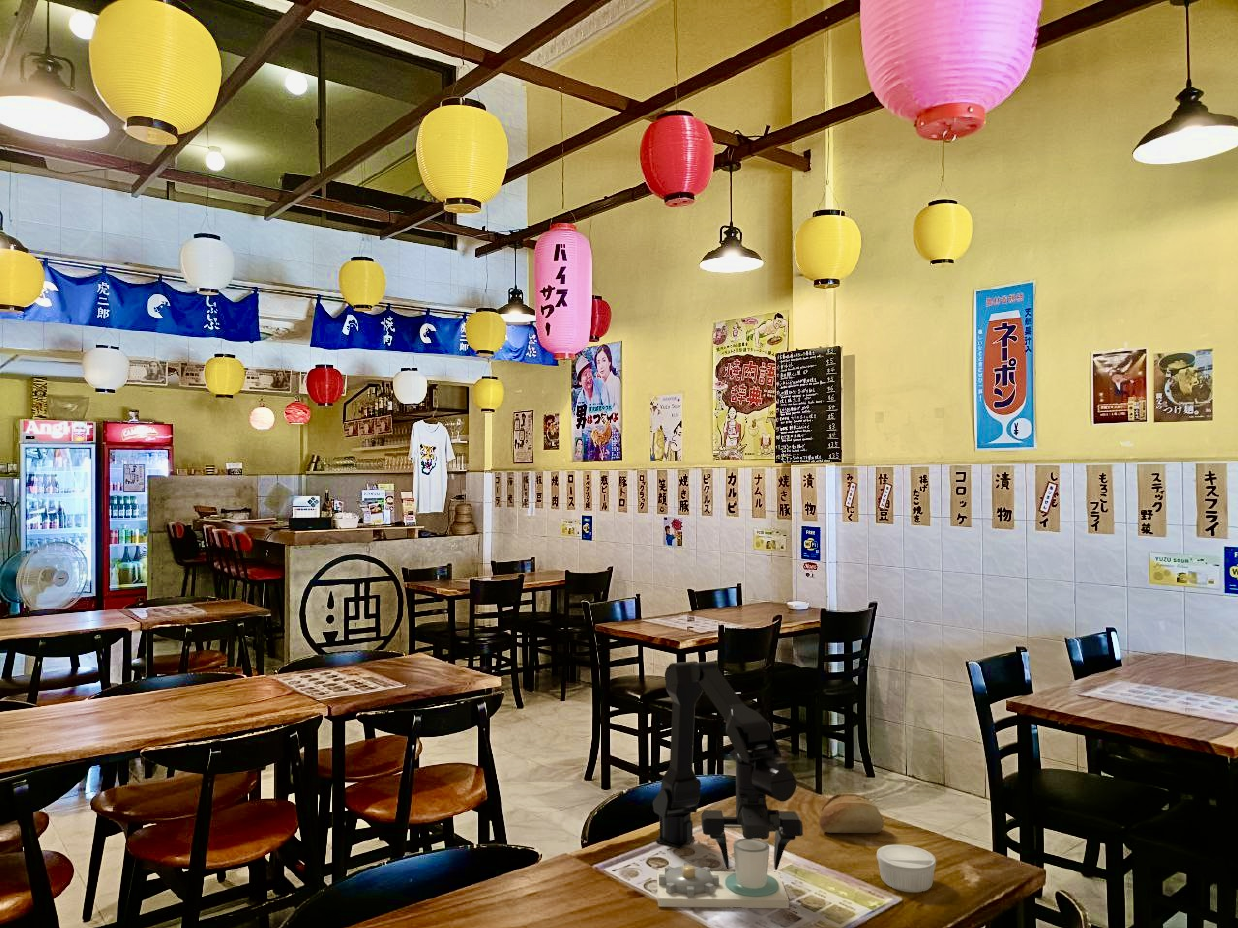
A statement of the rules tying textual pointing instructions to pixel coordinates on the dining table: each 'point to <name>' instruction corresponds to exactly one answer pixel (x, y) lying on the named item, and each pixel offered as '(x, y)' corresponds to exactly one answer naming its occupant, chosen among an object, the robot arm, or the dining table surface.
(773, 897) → the gear board
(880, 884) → the dining table surface
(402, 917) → the dining table surface
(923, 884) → the ramekin
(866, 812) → the bread roll
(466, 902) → the dining table surface
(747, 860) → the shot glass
